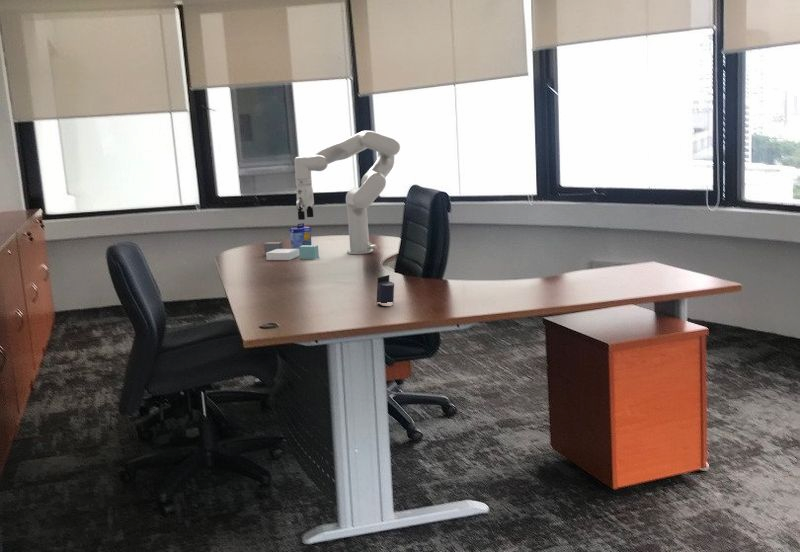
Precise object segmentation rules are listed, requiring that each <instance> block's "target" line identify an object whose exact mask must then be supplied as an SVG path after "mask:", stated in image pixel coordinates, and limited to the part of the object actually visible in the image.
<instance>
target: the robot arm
mask: <svg viewBox="0 0 800 552" xmlns="http://www.w3.org/2000/svg"><path fill="white" fill-rule="evenodd" d="M367 149H369V150H372V151H375V152H377V153H378V154H377V159H376V161H375V162H374V164H373V165H372V166H371V167H370V168H369V169H368V170H367V171H366V173H364V175H363V176H362V178H361V180H360V181H361V186H360V187H354V188H350V190H348V191H347V192H346V195H345V205H346V206H345V207H346V209H347V210H346V211H347V222H348V223H347V224H348V237H349V239H348V240H349V249H347V250H346V253H347V254H348V255H364V254H369V253H372V252H373V250H377V249H378V245H377V244H372V242H370V238H369V237H370V235H369V220H368V219H369V218H368V210H367V209H368V208H369V207H370V206H372V204H373V202H374V201H375V200H376V199H377V198H378V197H379V196H380V194H382V192H383V191H384V190H385V187H386V184H387V183H386V182H387V180H386V177H387V176H388V174H389V173H390V172H391V171H392V169H393V167H394V164H395V156H396V155H397V154H398V153H399V152H400V151H401V145H400V141H398V140H397V139H396V138H393V137H390V136H388V135H385V134H382V133H379V132H376V131H373V130H362V131H360V132H357V133H356V134H354V135H351V136H349V137H347V138H345V139H344V140H342V141H340V142H337V143H335V144H333V145H331V146H328V147H326V148H323V149H321V150H320V151H318V152H315V153H313V154H312V155H310V156H307V155H305V156H304V155H303V156H295V158H294V174H295V175H294V176H295V186H296V203H295V204H296V205H295V206H296V210H297V218H298V219H297V220H299V221H304V220H306V217H307V218H313V217H314V204H315V198H314V189H313V185H312V184H313V183H312V182H313V181H312V172H322V171H325V170H326V169H327V168H328V165H329V164H331V163H334V162H336V161H342V160H346V159H348V158H350V157H352V156H355V155H357V154H358V153H361V152H363V151H365V150H367ZM305 207H306V214H305Z"/></svg>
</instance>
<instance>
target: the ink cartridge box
mask: <svg viewBox="0 0 800 552" xmlns="http://www.w3.org/2000/svg"><path fill="white" fill-rule="evenodd" d="M289 236H290V237H289V238H290V249H299V247H300V246H302V245H313V244H312V228H311V227H310V226H305V222H302V223H301V222H300V223H297V226H296V227H291V228H289Z"/></svg>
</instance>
